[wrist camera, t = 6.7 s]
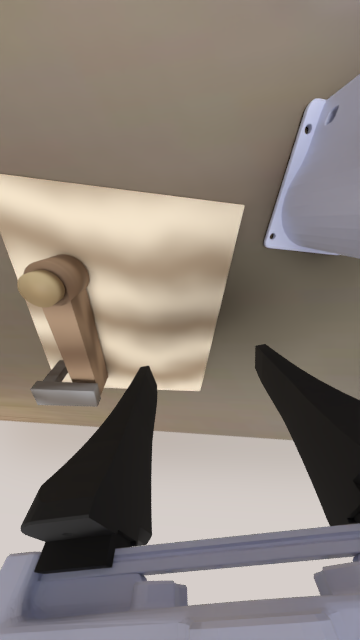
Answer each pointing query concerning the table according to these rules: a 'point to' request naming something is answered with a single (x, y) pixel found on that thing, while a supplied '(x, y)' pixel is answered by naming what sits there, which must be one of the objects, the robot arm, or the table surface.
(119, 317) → the plate
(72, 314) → the brown long round-headed piece
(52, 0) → the table surface
